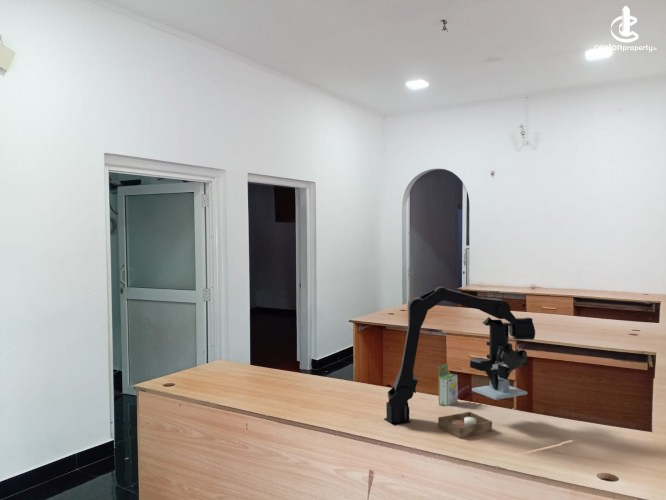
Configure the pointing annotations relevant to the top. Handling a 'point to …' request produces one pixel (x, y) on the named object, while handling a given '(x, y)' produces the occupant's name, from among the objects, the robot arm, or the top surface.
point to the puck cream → (469, 421)
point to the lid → (499, 390)
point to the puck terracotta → (458, 423)
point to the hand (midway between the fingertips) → (499, 389)
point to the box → (464, 431)
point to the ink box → (447, 387)
